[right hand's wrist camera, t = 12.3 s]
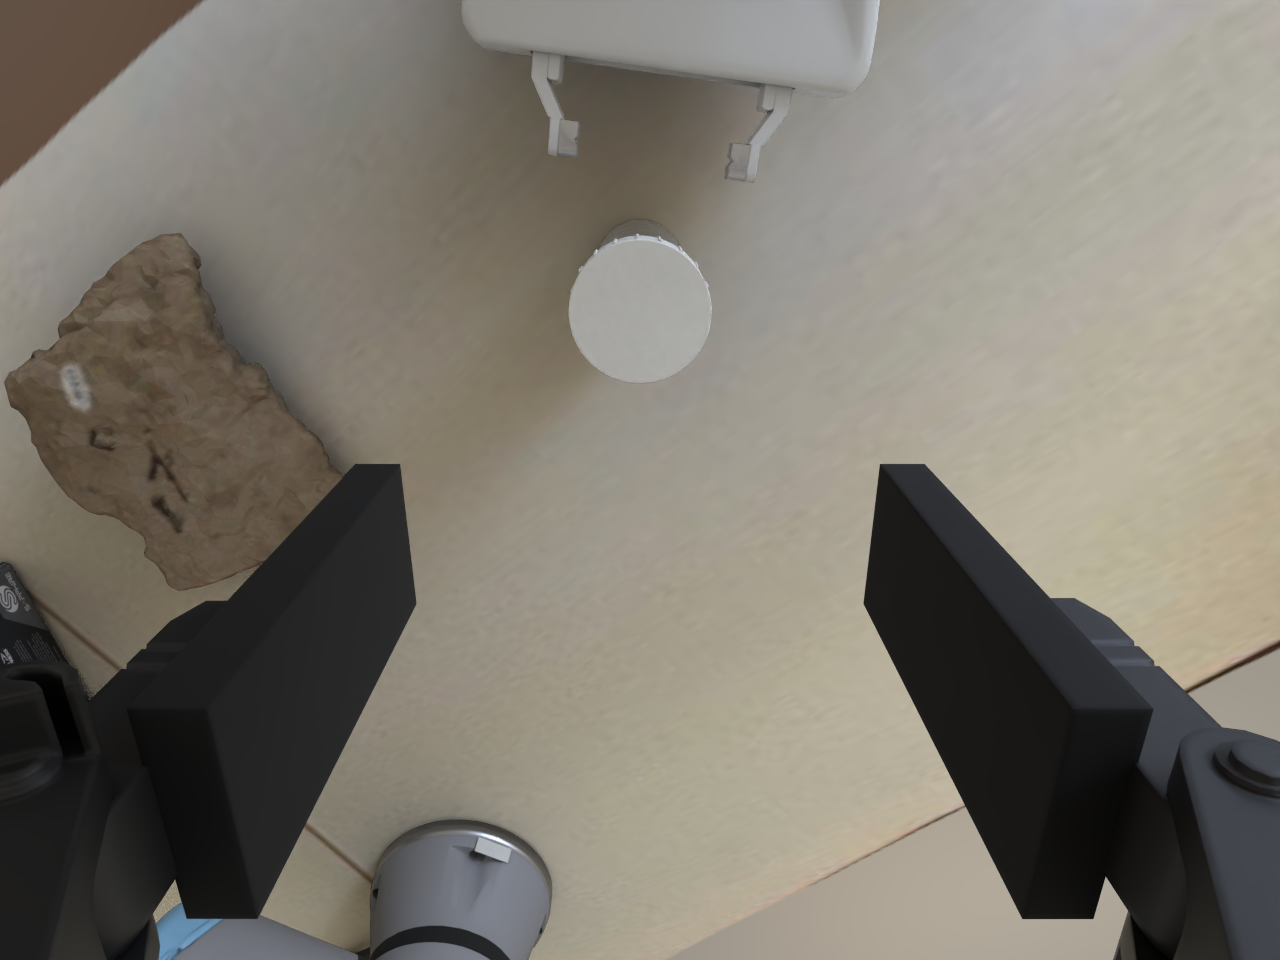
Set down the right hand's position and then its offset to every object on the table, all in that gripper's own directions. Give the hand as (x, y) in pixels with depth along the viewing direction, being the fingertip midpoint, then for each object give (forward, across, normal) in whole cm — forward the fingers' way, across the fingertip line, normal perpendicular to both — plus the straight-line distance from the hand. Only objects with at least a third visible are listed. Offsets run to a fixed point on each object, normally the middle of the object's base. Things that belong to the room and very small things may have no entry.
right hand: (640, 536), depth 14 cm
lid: (+22, 0, 0) cm, 22 cm away
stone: (+39, -29, -10) cm, 50 cm away
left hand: (+33, +1, +6) cm, 34 cm away
